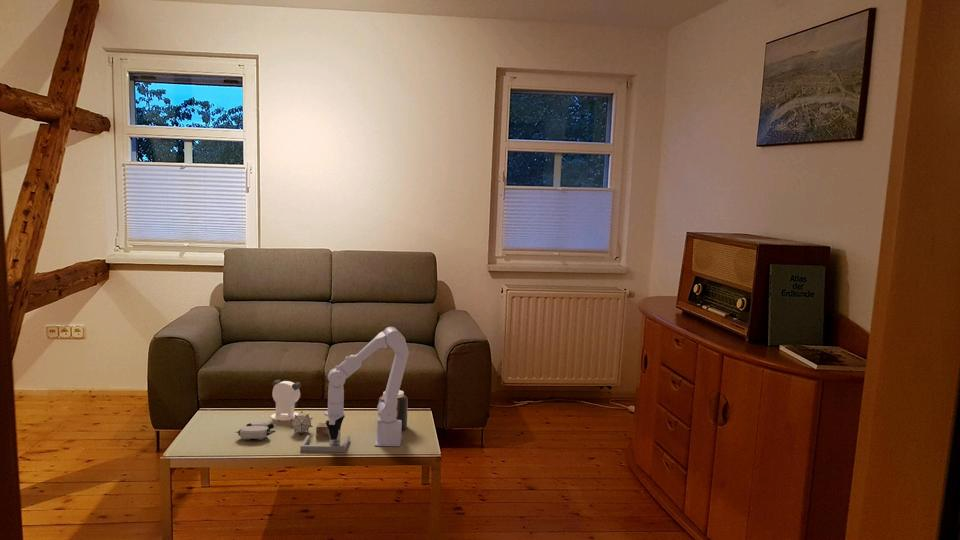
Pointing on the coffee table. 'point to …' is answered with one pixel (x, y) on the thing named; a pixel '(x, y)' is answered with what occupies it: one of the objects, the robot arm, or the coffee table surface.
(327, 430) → the walnut block
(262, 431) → the robot toy
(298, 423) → the game die
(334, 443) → the silver cylinder
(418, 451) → the coffee table surface
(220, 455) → the coffee table surface
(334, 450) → the parts pen
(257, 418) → the coffee table surface
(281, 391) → the panda figurine
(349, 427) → the coffee table surface
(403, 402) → the jar
